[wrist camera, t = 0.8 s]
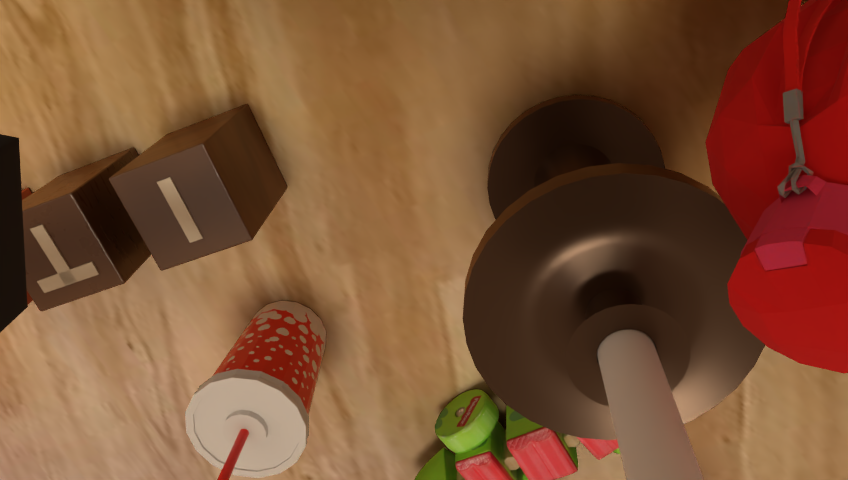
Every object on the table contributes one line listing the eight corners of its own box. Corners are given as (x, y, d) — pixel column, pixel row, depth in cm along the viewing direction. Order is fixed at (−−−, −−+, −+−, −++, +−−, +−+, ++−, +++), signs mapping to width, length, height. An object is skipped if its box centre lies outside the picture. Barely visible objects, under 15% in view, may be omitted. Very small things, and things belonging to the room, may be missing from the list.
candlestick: (429, 156, 40) (219, 1129, 9) (609, 32, 37) (1334, 864, 5) (543, 305, 44) (697, 1418, 12) (717, 202, 40) (1582, 1364, 8)
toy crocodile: (665, 279, 43) (692, 337, 37) (722, 364, 44) (755, 431, 39) (384, 433, 48) (371, 503, 43) (445, 502, 50) (440, 577, 45)
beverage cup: (248, 276, 44) (152, 430, 32) (349, 305, 45) (294, 469, 32) (230, 361, 47) (134, 535, 34) (326, 388, 47) (267, 570, 35)
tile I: (166, 134, 41) (106, 179, 35) (247, 103, 40) (201, 143, 34) (208, 215, 43) (159, 272, 37) (288, 187, 42) (252, 241, 36)
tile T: (58, 176, 43) (-19, 226, 36) (134, 146, 42) (69, 193, 35) (104, 252, 45) (39, 313, 38) (178, 226, 43) (124, 284, 37)
